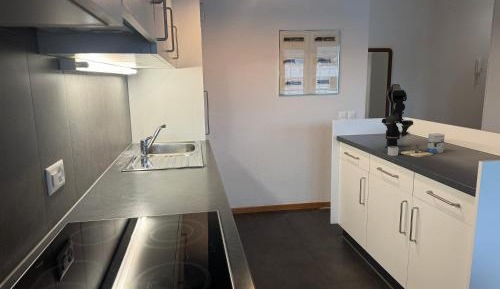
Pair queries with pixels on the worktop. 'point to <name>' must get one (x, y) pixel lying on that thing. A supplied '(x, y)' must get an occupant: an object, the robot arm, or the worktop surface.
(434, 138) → the ink box
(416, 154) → the shaft block
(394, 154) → the tube
